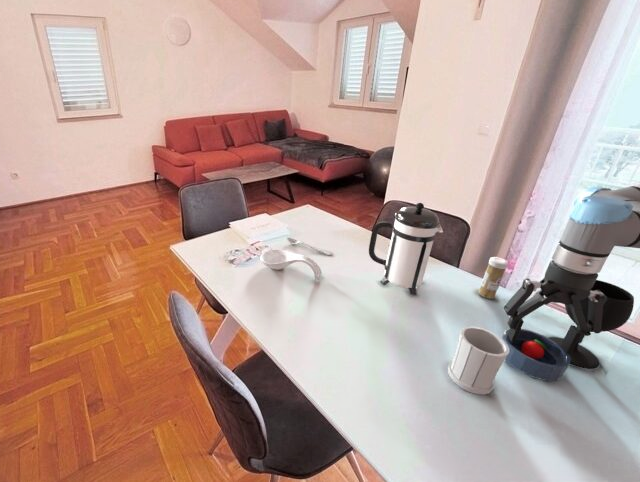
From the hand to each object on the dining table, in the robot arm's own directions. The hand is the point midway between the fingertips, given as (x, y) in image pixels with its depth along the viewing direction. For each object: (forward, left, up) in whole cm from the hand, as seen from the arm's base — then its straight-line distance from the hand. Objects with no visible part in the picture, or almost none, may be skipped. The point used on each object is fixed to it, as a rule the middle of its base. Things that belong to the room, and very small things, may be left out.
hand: (537, 344), depth 77 cm
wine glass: (-11, -7, -6) cm, 15 cm away
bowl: (0, 0, -6) cm, 6 cm away
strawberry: (+1, 0, -4) cm, 5 cm away
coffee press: (+29, -25, -6) cm, 39 cm away
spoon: (+63, -38, -6) cm, 74 cm away
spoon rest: (+66, -18, -6) cm, 69 cm away
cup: (+15, +11, -6) cm, 20 cm away
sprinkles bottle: (+2, -28, -6) cm, 29 cm away
